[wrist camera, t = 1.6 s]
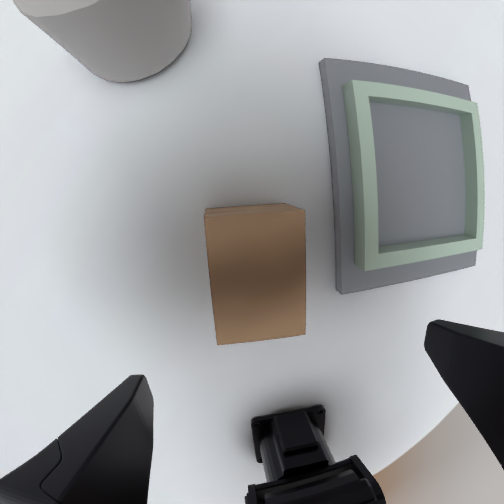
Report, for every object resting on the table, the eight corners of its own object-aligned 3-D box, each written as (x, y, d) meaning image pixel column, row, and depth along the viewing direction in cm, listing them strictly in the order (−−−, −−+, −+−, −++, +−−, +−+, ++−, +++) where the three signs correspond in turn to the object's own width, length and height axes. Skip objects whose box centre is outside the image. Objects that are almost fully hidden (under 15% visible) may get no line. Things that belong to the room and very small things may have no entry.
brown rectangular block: (287, 304, 21) (305, 334, 17) (215, 311, 21) (217, 345, 16) (283, 203, 20) (304, 210, 15) (205, 208, 19) (203, 217, 15)
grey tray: (468, 262, 23) (486, 270, 20) (335, 289, 21) (350, 302, 19) (460, 87, 19) (479, 82, 16) (319, 62, 17) (332, 49, 15)
